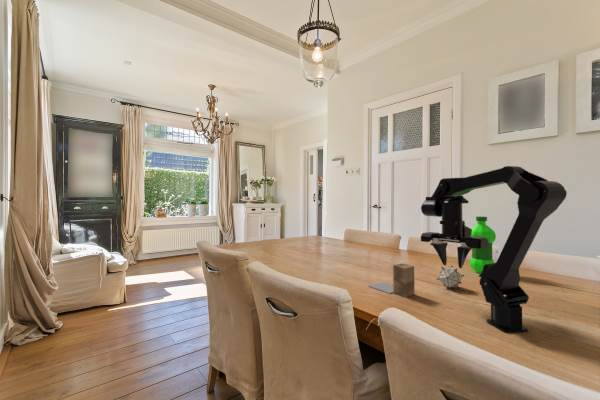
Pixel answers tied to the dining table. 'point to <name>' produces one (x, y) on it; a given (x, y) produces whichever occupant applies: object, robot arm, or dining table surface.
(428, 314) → the dining table surface
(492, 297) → the robot arm
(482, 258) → the plastic bottle
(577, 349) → the dining table surface
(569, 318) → the dining table surface
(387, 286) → the felt mat
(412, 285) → the grey rectangular block
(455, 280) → the grey spiky ball
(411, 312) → the dining table surface
